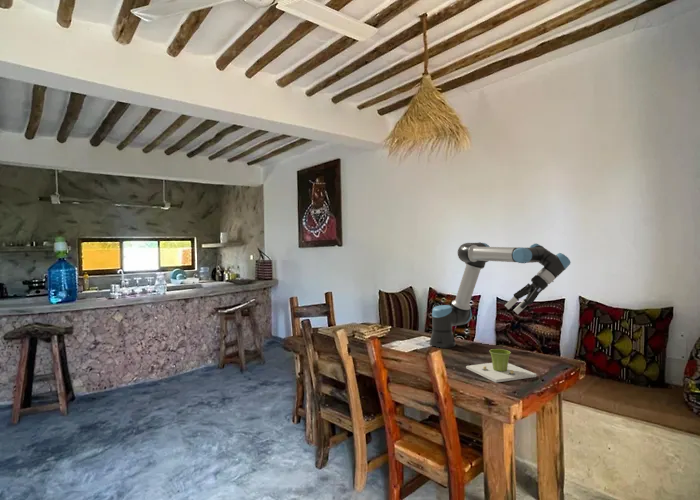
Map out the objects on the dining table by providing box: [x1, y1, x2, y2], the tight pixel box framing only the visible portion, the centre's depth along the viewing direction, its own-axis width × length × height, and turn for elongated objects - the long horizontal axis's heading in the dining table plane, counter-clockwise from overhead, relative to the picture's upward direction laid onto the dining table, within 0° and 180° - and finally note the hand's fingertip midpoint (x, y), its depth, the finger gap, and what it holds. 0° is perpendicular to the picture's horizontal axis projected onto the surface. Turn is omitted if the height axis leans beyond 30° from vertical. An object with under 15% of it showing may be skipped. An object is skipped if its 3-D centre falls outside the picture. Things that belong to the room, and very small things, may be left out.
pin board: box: [465, 362, 538, 383], centre depth 190 cm, size 22×22×3 cm
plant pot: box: [488, 348, 512, 372], centre depth 190 cm, size 9×9×9 cm
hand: (510, 309), depth 200 cm, fingers open, 13 cm apart
